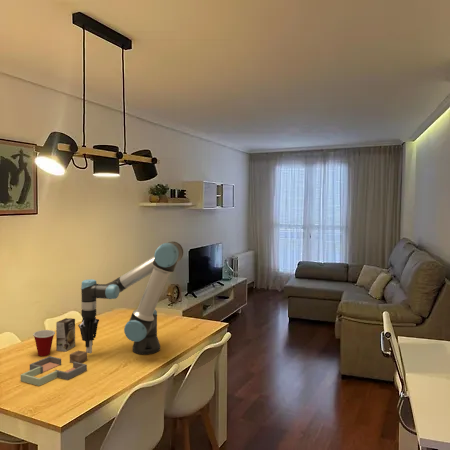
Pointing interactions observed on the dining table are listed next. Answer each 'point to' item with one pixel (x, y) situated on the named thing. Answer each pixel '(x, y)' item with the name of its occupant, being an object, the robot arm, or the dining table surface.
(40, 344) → the plastic cup
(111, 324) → the dining table surface
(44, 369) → the channel
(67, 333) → the coffee box
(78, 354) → the walnut block
